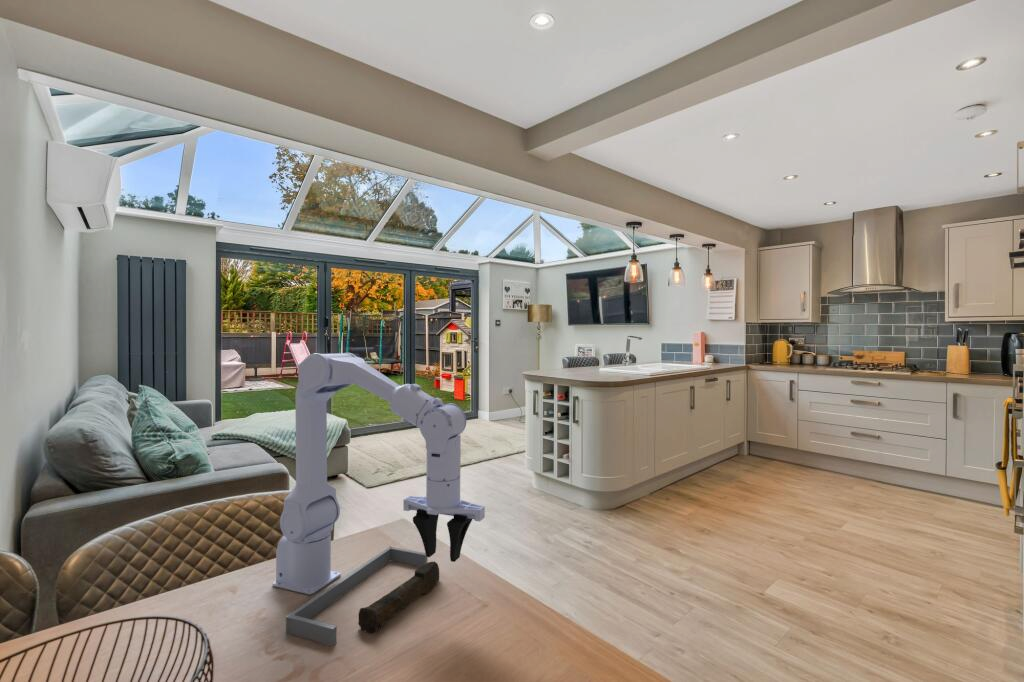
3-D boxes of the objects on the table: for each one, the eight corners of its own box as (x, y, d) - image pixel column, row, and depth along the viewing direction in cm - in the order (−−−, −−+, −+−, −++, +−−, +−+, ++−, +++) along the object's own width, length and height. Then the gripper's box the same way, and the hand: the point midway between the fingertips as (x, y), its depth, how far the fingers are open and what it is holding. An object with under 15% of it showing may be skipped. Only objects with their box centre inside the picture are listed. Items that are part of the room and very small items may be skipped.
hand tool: (374, 639, 74) (375, 609, 74) (356, 630, 76) (357, 601, 76) (450, 586, 90) (450, 561, 90) (433, 580, 92) (434, 556, 92)
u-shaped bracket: (285, 632, 75) (285, 616, 75) (389, 558, 100) (389, 546, 100) (332, 646, 71) (332, 629, 71) (427, 565, 97) (427, 553, 97)
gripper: (393, 478, 79) (392, 560, 79) (472, 488, 74) (471, 575, 74) (415, 468, 86) (415, 543, 86) (489, 476, 81) (489, 556, 81)
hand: (442, 556), depth 80 cm, fingers open, 4 cm apart
